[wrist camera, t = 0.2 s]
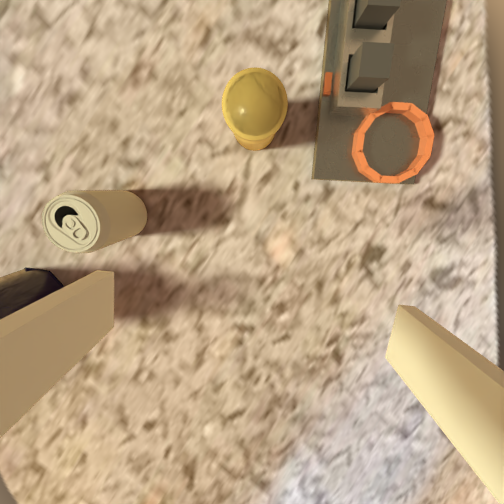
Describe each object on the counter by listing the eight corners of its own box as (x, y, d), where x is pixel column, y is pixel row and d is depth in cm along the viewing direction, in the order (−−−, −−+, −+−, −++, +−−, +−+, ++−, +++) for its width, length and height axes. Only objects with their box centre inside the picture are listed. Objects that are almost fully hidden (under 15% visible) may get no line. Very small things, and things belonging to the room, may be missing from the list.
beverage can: (129, 180, 37) (71, 176, 25) (159, 219, 38) (116, 232, 27) (94, 207, 38) (22, 215, 26) (124, 245, 39) (68, 268, 27)
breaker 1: (354, -1, 29) (372, -35, 25) (382, 1, 29) (405, -33, 25) (350, 32, 30) (367, 4, 25) (378, 33, 30) (399, 6, 25)
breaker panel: (329, -5, 32) (342, -40, 27) (439, 1, 32) (472, -33, 27) (311, 179, 37) (320, 177, 32) (407, 184, 37) (431, 183, 32)
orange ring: (357, 104, 33) (362, 100, 32) (431, 108, 33) (440, 104, 32) (348, 180, 35) (352, 180, 34) (418, 184, 35) (425, 184, 34)
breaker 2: (347, 63, 30) (363, 41, 26) (374, 64, 30) (394, 43, 26) (343, 92, 31) (358, 76, 27) (370, 94, 31) (389, 78, 27)
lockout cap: (231, 100, 35) (222, 65, 25) (280, 103, 35) (290, 69, 25) (229, 152, 36) (220, 137, 26) (276, 154, 36) (284, 141, 26)
